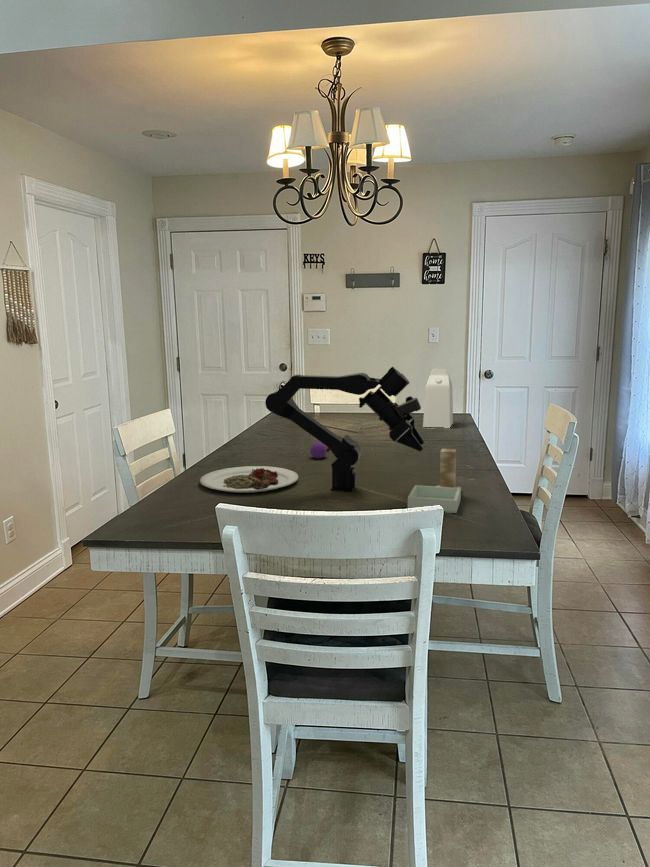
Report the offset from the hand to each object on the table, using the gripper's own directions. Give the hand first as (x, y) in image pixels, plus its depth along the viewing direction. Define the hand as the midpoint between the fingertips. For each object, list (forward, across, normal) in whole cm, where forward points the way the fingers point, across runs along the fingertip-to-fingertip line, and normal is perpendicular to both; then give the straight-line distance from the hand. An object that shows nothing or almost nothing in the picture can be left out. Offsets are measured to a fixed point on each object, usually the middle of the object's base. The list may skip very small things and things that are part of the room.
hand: (422, 446), depth 186 cm
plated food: (-27, +3, +47) cm, 54 cm away
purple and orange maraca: (-17, +47, +37) cm, 62 cm away
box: (+12, -13, +7) cm, 19 cm away
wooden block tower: (+15, 0, +4) cm, 15 cm away
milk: (+12, +112, +8) cm, 113 cm away
